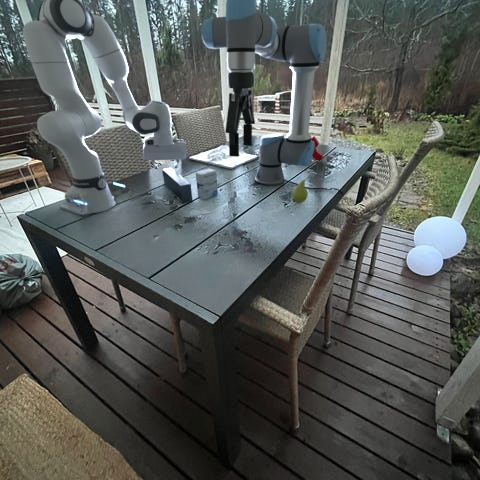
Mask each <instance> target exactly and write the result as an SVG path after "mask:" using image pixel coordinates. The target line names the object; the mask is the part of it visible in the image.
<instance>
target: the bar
mask: <svg viewBox="0 0 480 480" xmlns="http://www.w3.org/2000/svg"><path fill="white" fill-rule="evenodd" d="M161 172H162V179H163V183H164V185H165V186H166V188H167V189H168V190H169V191H170V192H171V193H172V194H173V195H174V197H176V198H177V199H178V200H179V201H180V202H181V203H183V204H185V203H189V202H193V193H192V185H191V184H192V183H190V182H189V181H188V180H187V179H186V178H184V177H183V176H182V175H180V174H179V173H178V172H177V171H176V170H175V169H173V168H172V167H166V168H162V169H161Z"/></svg>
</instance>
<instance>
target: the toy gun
mask: <svg viewBox="0 0 480 480" xmlns="http://www.w3.org/2000/svg"><path fill="white" fill-rule="evenodd" d="M311 141H313V142H314V143H315V148H314V152H313V155H312V158H313V159H314V160H315V161H316V163H319V162H321V161H323V158H324V154H323V153H321V152H320V151H319V150H318V149H317V147H319V144H320V141H319V140H318V138H317V137H316V136H315V135H313V136H311ZM317 160H319V162H318V161H317ZM320 160H321V161H320Z"/></svg>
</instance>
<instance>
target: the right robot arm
mask: <svg viewBox="0 0 480 480" xmlns="http://www.w3.org/2000/svg"><path fill="white" fill-rule="evenodd" d="M257 9H258V8H257V1H256V0H226V1H225V16H218V17H217V16H213V17H209V18H206V19H205V20H204V21H203V22H202V25H201V29H200V30H201V31H200V32H201V39H202V42H203V44H204V45H205V47H206V48H208V49H214V50H217V49H224V50H226V57H225V61H226V63H227V70H228V71H229V72H228V73H227V74H226V75H227V87H228V88H229V89H233V92H229V93H228V106H227V115H226V122H225V123H226V124H225V130H224V131H225V134H228V147H229V154H230V156H235V157H238V156H239V149H240V133H239V132H238V130H239V128H240V127H239V126H240V123H241V122H240V121H241V117H242V119H243V143H242V144H243V146H250V147H252V146H253V125H255V124H256V120H255V114H254V113H255V112H254V104H253V90H252V89H254V87H255V78H256V77H255V76H256V74H255V72H253V71H254V70H255V69H256V54H258V55H259V56H260V57H262V58H264V59H270V60H274V61H278V62H283V63H284V62H285V63H287V62H289V69H291V71H292V87H291V88H292V89H291V102H290V120H289V132H288V133H287V134H286V136H285V135H284V134H283V133H270V134H266V135H263V136H261V137H260V139H259V147H258V148H259V153H258V157H259V158H258V167H257V171H256V172H255V178H254V181H255V183H258V184H259V185H262V186H263V185H264V186H279V185H281V184H283V183H284V182H286V183H289V184H293V185H295V186H298V184H299V183H297V182H293V181H290V180H287V179H285V175H284V172H283V171H284V170H283V167H282V165H283V164H286V165H292V166H296V167H298V166H299V167H306V166H307V165H308V164H309V163H310V161H311V160H312V158H313V157H312V155H313V152H314V148H315V143H314V142H313V141H311V138H312V135H311V133H309V132H310V120H311V112H312V111H311V110H312V101H313V91H314V84H315V83H314V82H315V73H316V71H317V69H318V68H319V67H320V63H321V62H323V61H324V60H325V58H326V53H327V43H328V42H327V32H326V30H325V27H324V25H322V24H320V23H305V24H296V25H295V24H294V25H284V26H277V23H276V21H275V20H276V19H274V18H273V17H272V16H270V15H269V14H267V13H263V12H259V11H257ZM327 188H328V187H309V186H305V189H306V190H324V191H337V190H338V191H337V192H339V193H340V194H341V195H344V192H343V191H342V190H341V189H339V188H336V187H329V188H330V189H327ZM332 189H334V190H332Z"/></svg>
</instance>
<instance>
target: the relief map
mask: <svg viewBox="0 0 480 480" xmlns="http://www.w3.org/2000/svg"><path fill="white" fill-rule="evenodd" d="M256 159H258V155H256V154H249V153H246V152H245V151H244V149H242V148H239V156H238V157H235V156H230V154H229V145H227V144H225V145H224V144H221V145H220V146H219V147H216V148H213V149H210V150H208V151H204V152H202V151H201V152H200V153H198V154H196V155H192V156H189V160H193V161H196V162H201V163H204V164H209V165H214V166H217V167H222V168H226V169H230V170H233V169H235V168H237V167H240V166H241V165H244V164H247V163H250V162H252V161H254V160H256Z"/></svg>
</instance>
